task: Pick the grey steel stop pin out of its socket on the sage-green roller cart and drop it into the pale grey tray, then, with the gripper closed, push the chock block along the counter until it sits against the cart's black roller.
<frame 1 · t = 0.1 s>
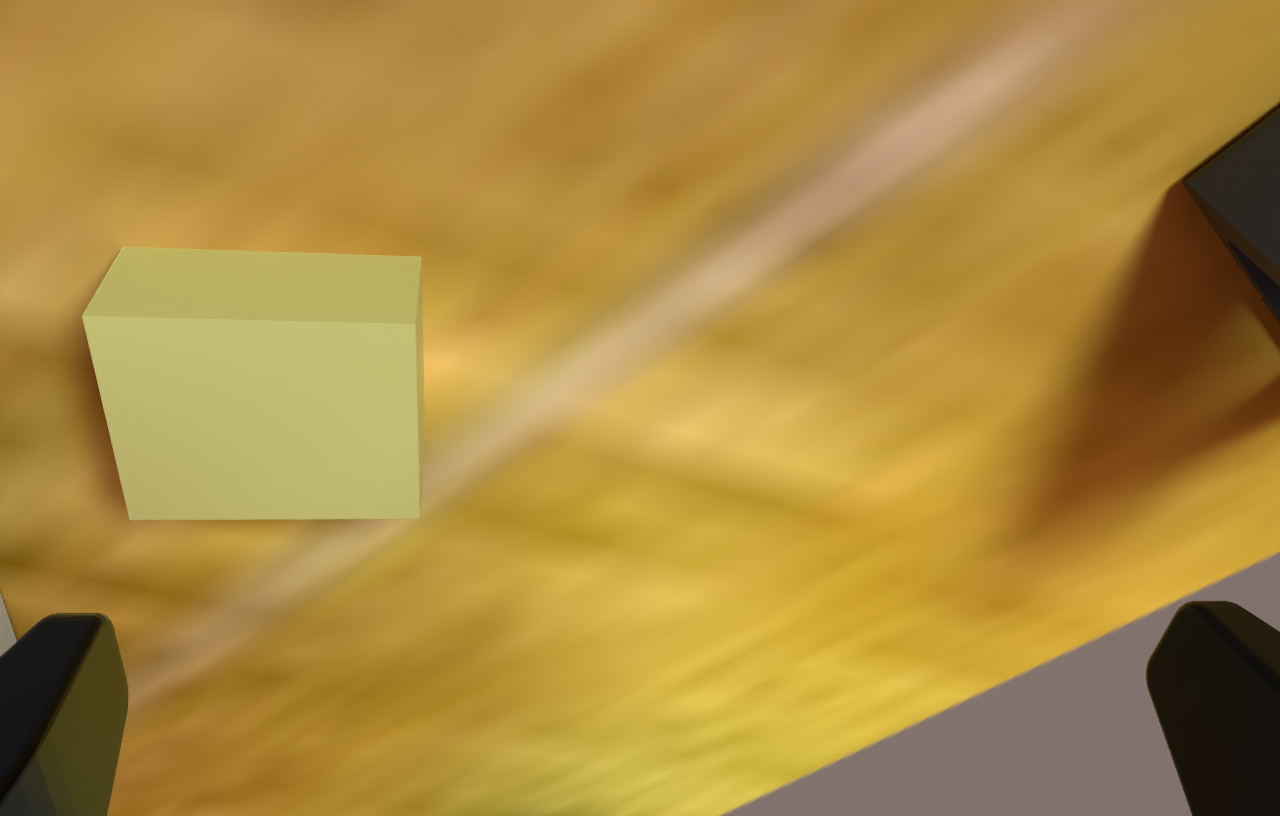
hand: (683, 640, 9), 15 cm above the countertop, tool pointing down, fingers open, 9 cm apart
chock: (287, 346, 24), on the countertop
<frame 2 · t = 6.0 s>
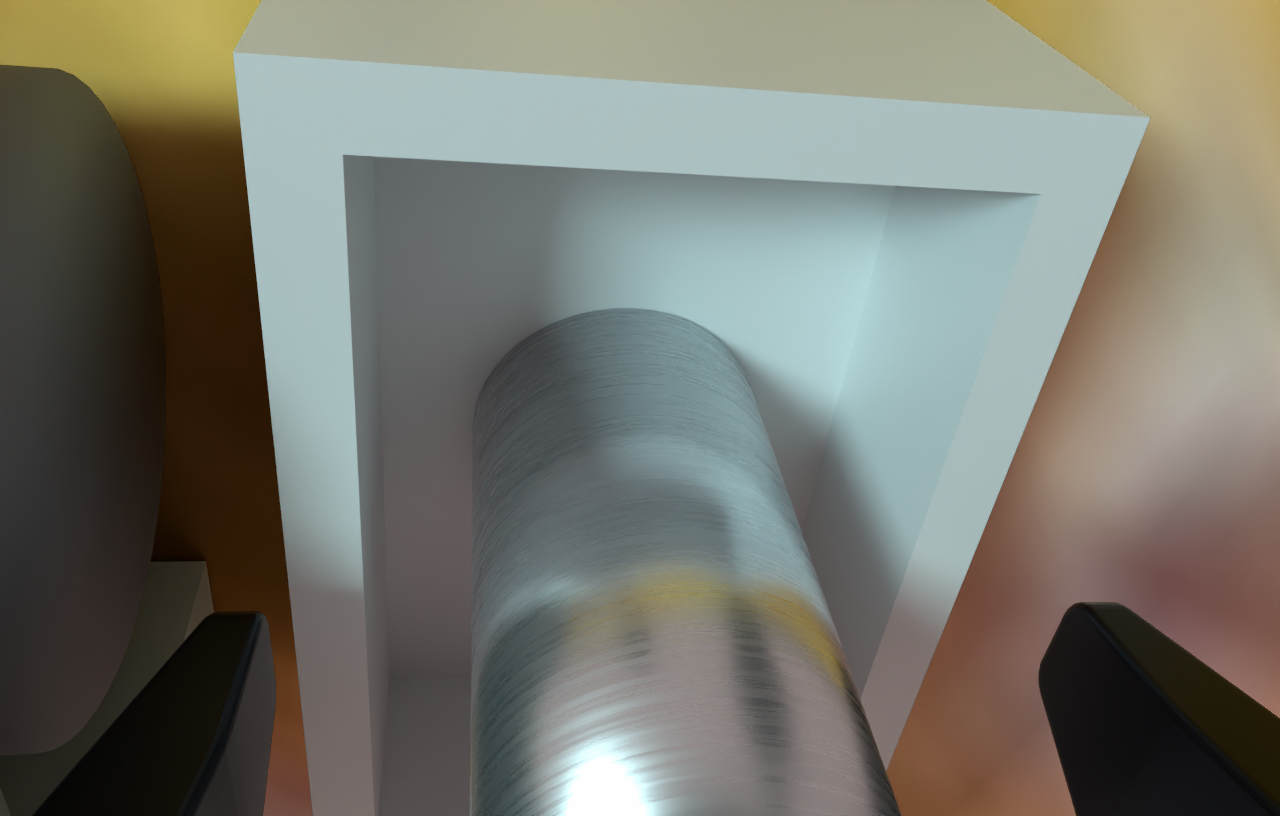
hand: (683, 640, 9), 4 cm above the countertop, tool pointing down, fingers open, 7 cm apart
pin: (615, 429, 11), point 1 cm above the countertop, touching tray
tray: (607, 393, 12), on the countertop
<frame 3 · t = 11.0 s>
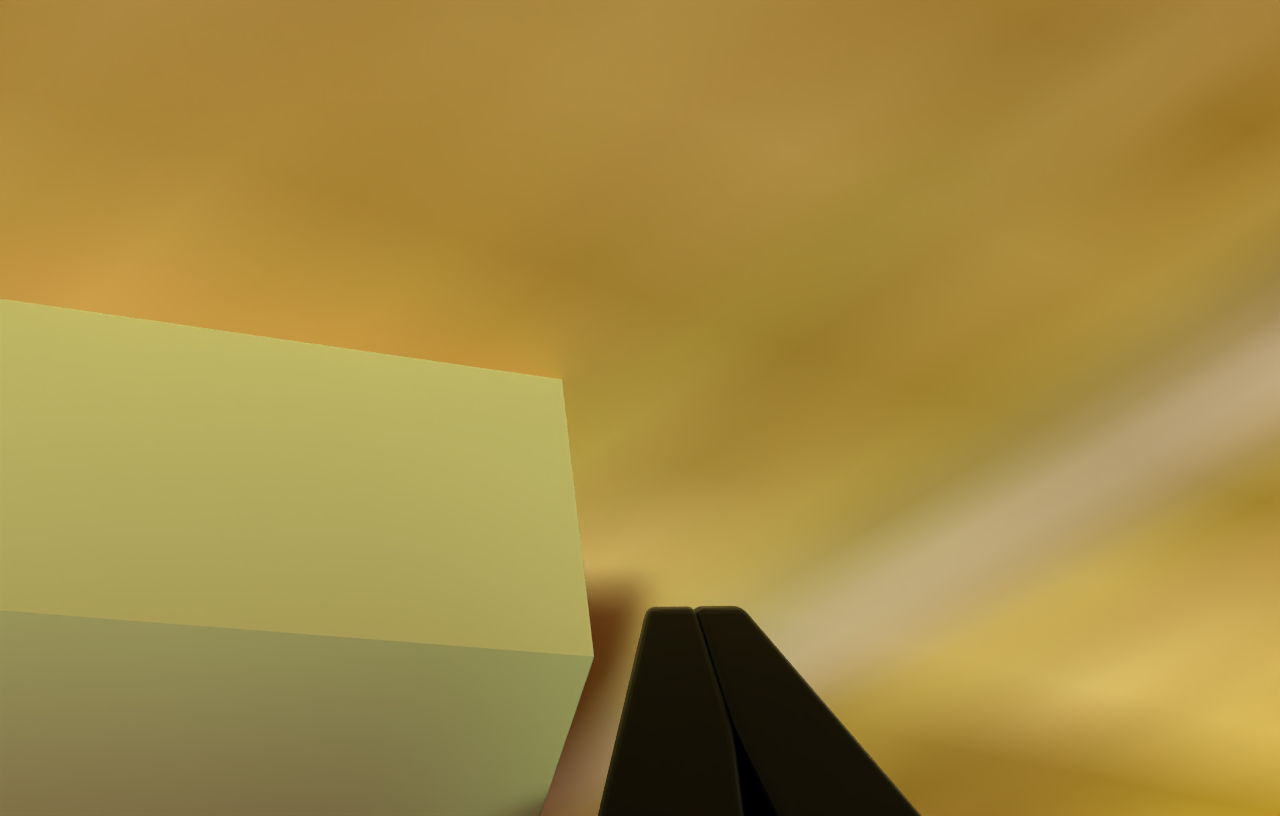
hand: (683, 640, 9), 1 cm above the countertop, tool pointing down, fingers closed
chock: (162, 556, 9), on the countertop, touching gripper
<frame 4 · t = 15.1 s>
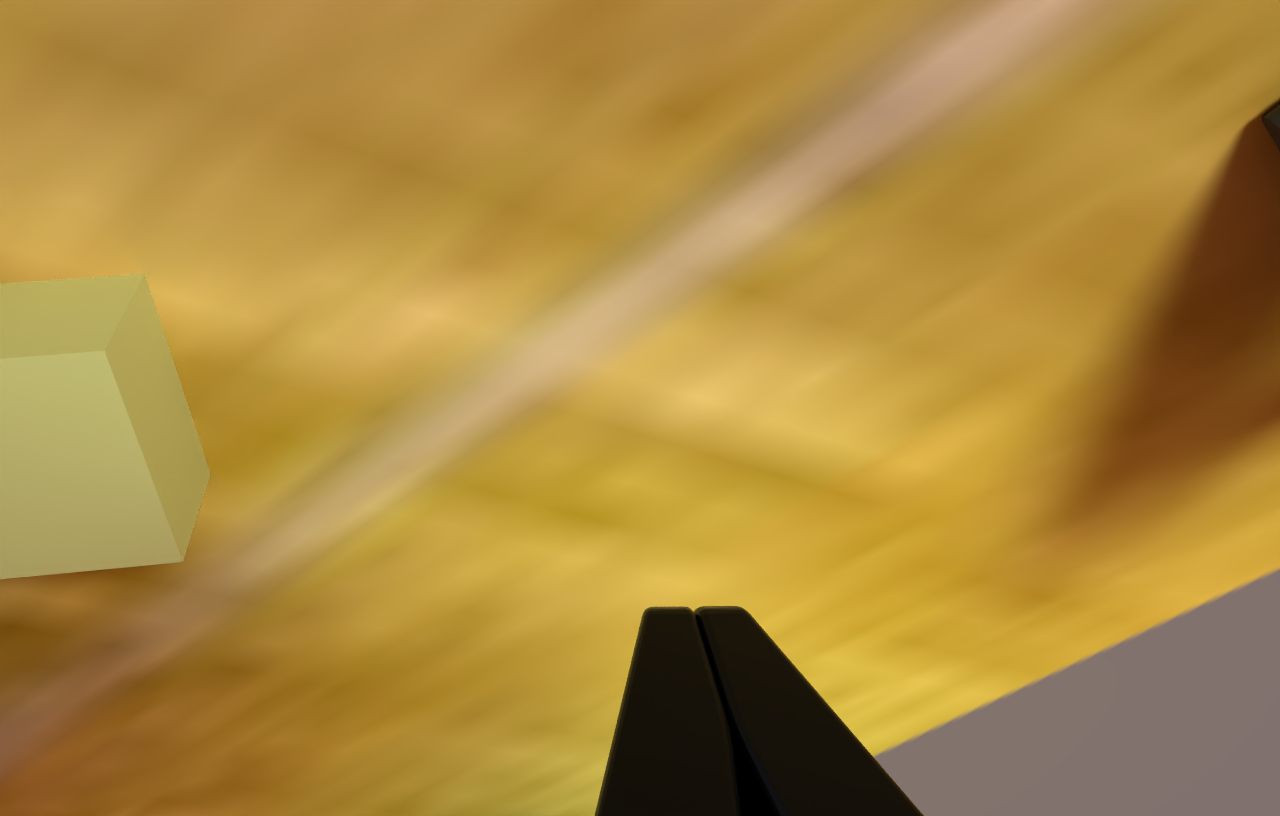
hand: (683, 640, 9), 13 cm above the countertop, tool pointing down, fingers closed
chock: (31, 385, 22), on the countertop
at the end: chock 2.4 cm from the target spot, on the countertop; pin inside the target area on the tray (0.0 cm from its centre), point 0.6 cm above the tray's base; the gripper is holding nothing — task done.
